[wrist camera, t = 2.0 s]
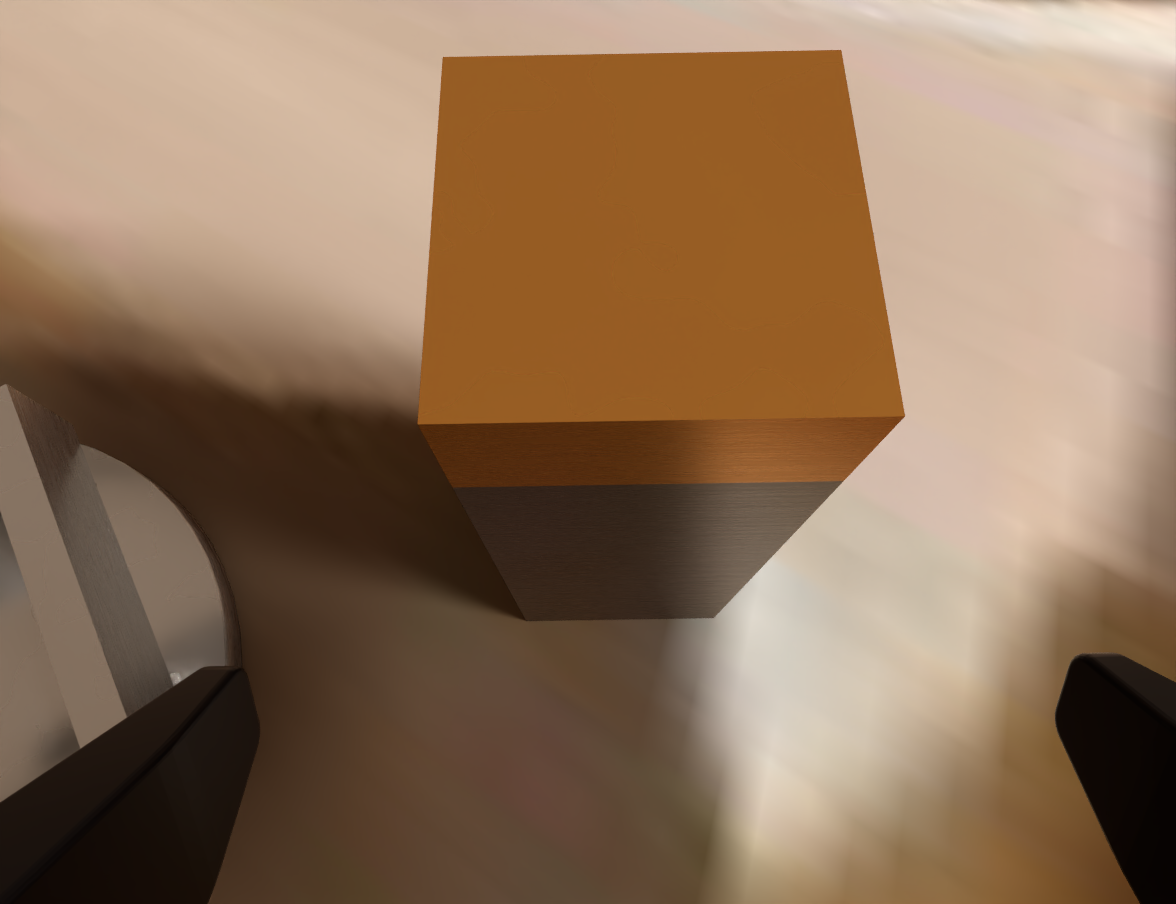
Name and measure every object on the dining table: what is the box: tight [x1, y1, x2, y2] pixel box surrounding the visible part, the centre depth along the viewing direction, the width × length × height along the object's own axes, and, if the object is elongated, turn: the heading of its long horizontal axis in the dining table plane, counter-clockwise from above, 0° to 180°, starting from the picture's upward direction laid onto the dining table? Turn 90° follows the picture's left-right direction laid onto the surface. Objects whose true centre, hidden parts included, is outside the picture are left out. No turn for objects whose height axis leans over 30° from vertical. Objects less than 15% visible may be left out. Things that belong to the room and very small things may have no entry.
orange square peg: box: [418, 50, 905, 621], centre depth 15 cm, size 5×5×13 cm
